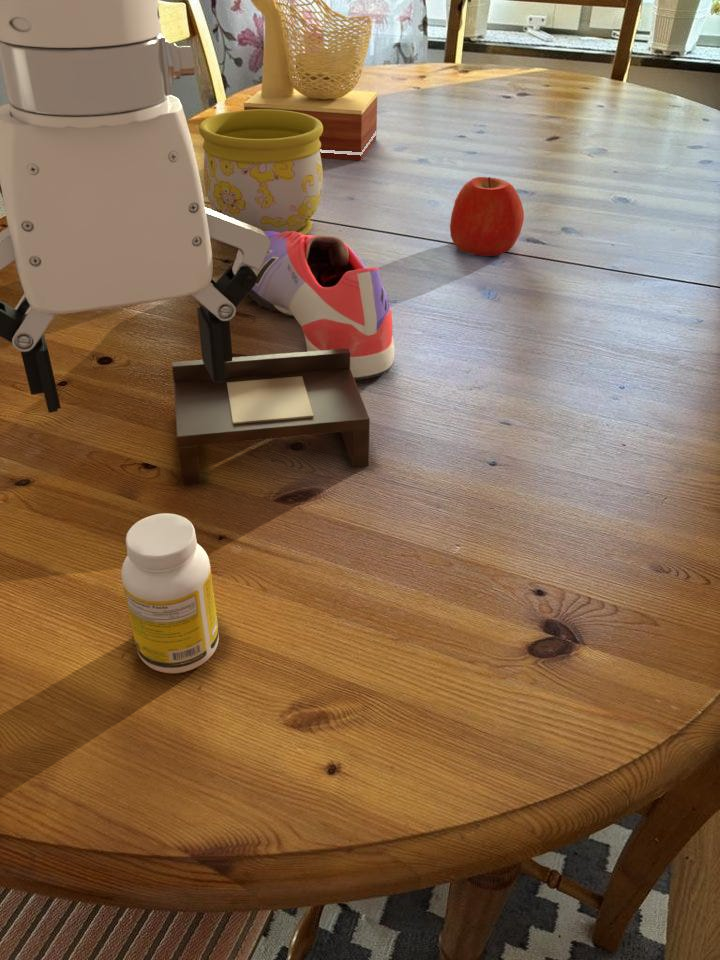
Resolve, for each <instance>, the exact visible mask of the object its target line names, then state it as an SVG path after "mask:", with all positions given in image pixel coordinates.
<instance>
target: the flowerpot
mask: <svg viewBox="0 0 720 960" xmlns="http://www.w3.org/2000/svg"><path fill="white" fill-rule="evenodd" d="M198 131H199V134H200V137H202V138H203V143H202V148H203V150H204V156H203V180H204V187H205V193H206V197H207V200H208V203H209V204H210V207H211V210H213V211H215V212H218V213H221V214H223V215H226V216H228V217H231V218H233V219H236V220H238V221H241V222H243V223H246V224H249V225H251V226H254V227H256V228H259V229H261V230H262V231H263V232H265V231H274V232H279V233H283V232H287V231H288V232H290V231H295V232H298V233H301V234H304V235H307V233H309V232H310V231H311V229H312V228H313V222H312V220H311V219H312V218H313V216H314V214H315V213H316V211H317V209H318V207H319V204H320V201H321V197H322V193H323V182H324V181H323V180H324V179H323V178H324V177H323V176H324V175H323V174H324V173H323V165H322V164H323V163H322V158H321V156H320V148H321V142H320V141H319V137H320V136H321V134H322V132H323V125H322V123H321V122H320V121H319V120H318V119H316V118H315V117H312V116H310V115H307V114H303V113H298V112H292V111H285V110H270V109H255V110H244V109H240V110H233V111H226V112H222V113H218V114H214V115H211V116H209V117H206V118H205V119H203V120H202V121H201V122H200V124H199V126H198Z"/></svg>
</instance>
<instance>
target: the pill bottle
mask: <svg viewBox="0 0 720 960" xmlns="http://www.w3.org/2000/svg"><path fill="white" fill-rule="evenodd" d="M125 546H126V553H127V555H126V557H125V558H124V561H123V563H122V566H121V573H120V574H121V583H122V588H123V592H124V597H125V602H126V607H127V611H128V616H129V620H130V626H131V631H132V634H133V639H134V640H133V641H134V643H135V648H136V651H137V655H138V657H139V658H140V659H141V661H142V662H143V663H144V664H145V665H146V666H147V667H149V668H151V669H152V670H154V671H157V672H160V673H164V674H181V673H185V672H188V671H192V670H194V669H196V668H199V667H200V666H201V665H204V664H205V663H206V662H207V661H209V660H210V658H211V657H212V656H213V655H214V653H215V651H216V650H217V648H218V645H219V641H220V639H219V638H220V633H219V624H218V623H219V622H218V615H217V607H216V600H215V592H214V584H213V576H212V567H211V562H210V558H209V556H208V553H207V552H206V550H205V549H204V548H203V547H202V546H201V545H200V544H199V543H198V541H197V535H196V530H195V527H194V524H193V523H192V522H191V521H190V520H189V519H188V518H186V517H184V516H182V515H179V514H175V513H168V512H167V513H157V514H153V515H149V516H146V517H144V518H142V519H140V520H138V521H136V522H135V523H134V524H132V526H131V527H130V528H129V529H128V531H127V533H126V535H125Z"/></svg>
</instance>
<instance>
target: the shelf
mask: <svg viewBox="0 0 720 960" xmlns="http://www.w3.org/2000/svg"><path fill="white" fill-rule="evenodd" d="M224 366H225V377H226V381H225V382H222V383H216V381H215V382H213V380H212V379H211V377H210V375H209V373H208V371H207V369H206V367H205V365H204V363H203V359H196V360H195V359H194V360H183V361H181V360H180V361H172V362H171V370H172V371H171V372H172V379H173V391H174V410H175V431H176V442H177V451H178V457H179V466H180V472H181V482H182V485H183V486H185V485H195V484H200V483H201V479H200V468H199V467H200V466H199V455H198V446H207V445H216V444H217V445H218V444H219V445H220V444H227V443H238V442H250V441H260V440H268V439H269V440H270V439H271V440H272V439H281V438H291V437H293V438H294V437H302V436H303V437H304V436H311V435H314V436H315V435H323V434H325V435H326V434H334V433H340V434H341V437H342V440H343V442H344V445H345V446H344V447H345V449H346V451H347V455H348V458H349V461H350V464H351V467H352V468H363V467H369V464H370V463H369V460H370V457H369V456H370V426H371V425H370V423H371V422H370V421H371V419H370V416H369V414H368V411H367V409H366V405H365V403H364V400H363V399H362V396H361V395H362V394H361V393H360V391H359V388H358V385H357V383H356V380H354V377H353V375H352V372H351V370H350V351H349V349H348V348H347V349H334V350H321V351H308V352H307V351H297V352H296V351H295V352H284V353H271V354H260V355H259V354H258V355H257V354H256V355H245V356H234V357H233V356H232V361H230V362H224Z"/></svg>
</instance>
